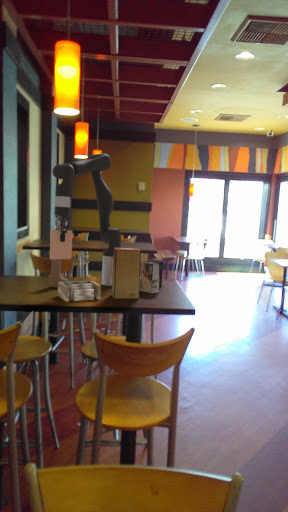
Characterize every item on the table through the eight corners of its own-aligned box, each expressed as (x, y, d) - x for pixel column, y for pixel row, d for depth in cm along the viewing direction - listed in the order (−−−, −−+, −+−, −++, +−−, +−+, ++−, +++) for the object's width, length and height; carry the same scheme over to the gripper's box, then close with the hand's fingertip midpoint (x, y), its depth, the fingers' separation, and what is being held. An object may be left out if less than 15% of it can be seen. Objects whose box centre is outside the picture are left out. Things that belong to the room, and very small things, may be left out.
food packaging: (135, 294, 209) (138, 248, 206) (139, 299, 200) (142, 250, 197) (110, 294, 206) (113, 247, 203) (113, 299, 197) (115, 249, 194)
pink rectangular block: (69, 258, 198) (70, 230, 197) (71, 259, 196) (72, 230, 194) (49, 258, 193) (50, 229, 192) (51, 259, 191) (52, 230, 189)
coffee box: (159, 292, 218) (161, 263, 216) (151, 293, 213) (153, 264, 212) (147, 289, 224) (148, 261, 222) (139, 290, 220) (140, 262, 218)
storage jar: (162, 287, 231) (163, 262, 230) (145, 286, 231) (146, 261, 230) (161, 284, 241) (163, 260, 239) (145, 283, 241) (147, 259, 240)
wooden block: (68, 287, 219) (69, 255, 217) (66, 288, 215) (67, 256, 212) (53, 285, 220) (54, 253, 218) (50, 287, 216) (51, 254, 214)
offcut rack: (90, 293, 206) (91, 280, 205) (100, 299, 194) (101, 285, 194) (57, 295, 197) (58, 281, 197) (66, 301, 186) (66, 287, 185)
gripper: (74, 206, 188) (73, 242, 189) (65, 206, 200) (64, 240, 202) (59, 205, 184) (58, 242, 186) (50, 205, 196) (49, 240, 198)
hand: (61, 241), depth 194 cm, fingers closed on pink rectangular block, 3 cm apart
